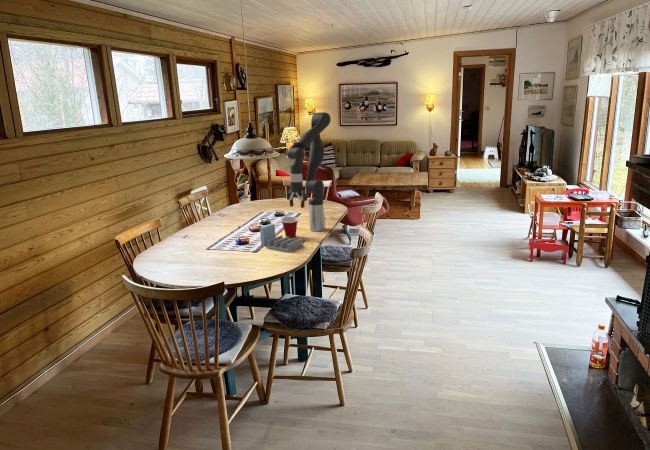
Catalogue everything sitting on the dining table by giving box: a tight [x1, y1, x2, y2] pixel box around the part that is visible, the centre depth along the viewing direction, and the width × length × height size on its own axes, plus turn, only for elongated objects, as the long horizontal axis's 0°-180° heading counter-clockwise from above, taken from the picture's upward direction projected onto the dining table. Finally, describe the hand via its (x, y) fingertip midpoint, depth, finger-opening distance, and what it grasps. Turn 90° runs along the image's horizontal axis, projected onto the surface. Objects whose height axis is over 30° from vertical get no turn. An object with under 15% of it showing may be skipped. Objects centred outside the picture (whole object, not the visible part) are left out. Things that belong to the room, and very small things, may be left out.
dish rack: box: [266, 235, 304, 253], centre depth 274 cm, size 14×16×4 cm
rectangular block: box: [259, 223, 277, 247], centre depth 282 cm, size 10×2×11 cm, turn 144°
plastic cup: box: [280, 216, 299, 239], centre depth 292 cm, size 11×11×12 cm
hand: (297, 207), depth 291 cm, fingers open, 8 cm apart
